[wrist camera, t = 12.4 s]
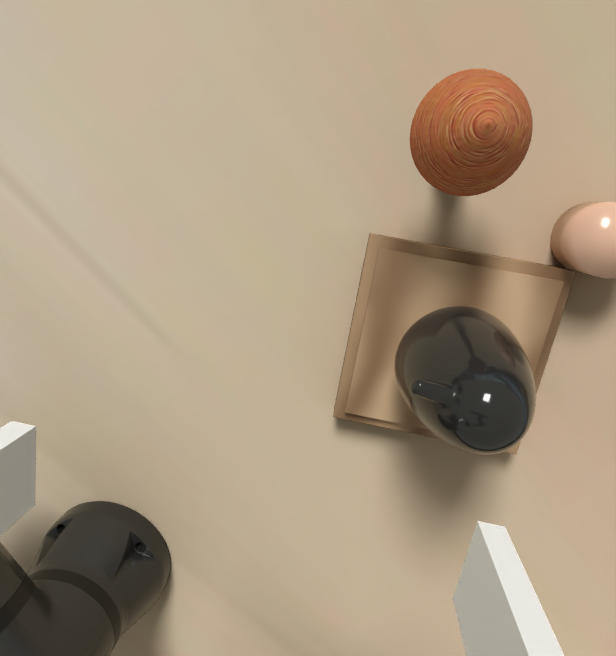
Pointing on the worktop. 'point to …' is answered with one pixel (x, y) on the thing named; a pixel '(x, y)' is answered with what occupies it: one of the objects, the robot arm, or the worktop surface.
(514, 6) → the worktop surface
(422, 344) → the pump dispenser
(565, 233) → the pink rounded glossy part
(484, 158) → the mushroom
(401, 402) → the walnut tray
